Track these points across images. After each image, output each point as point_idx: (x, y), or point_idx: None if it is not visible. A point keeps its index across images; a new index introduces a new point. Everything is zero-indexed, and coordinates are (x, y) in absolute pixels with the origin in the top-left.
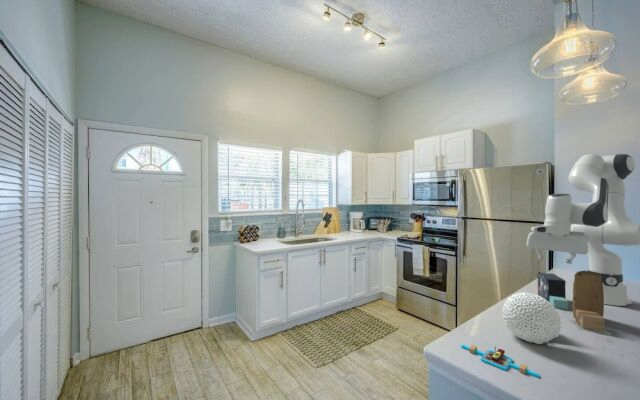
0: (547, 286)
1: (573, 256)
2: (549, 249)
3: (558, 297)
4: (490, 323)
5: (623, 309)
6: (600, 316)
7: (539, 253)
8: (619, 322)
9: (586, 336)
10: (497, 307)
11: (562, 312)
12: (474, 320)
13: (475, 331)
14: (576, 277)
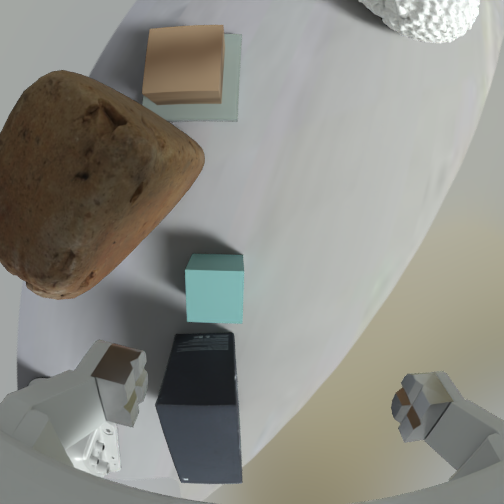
0: (236, 383)
1: (35, 397)
2: (440, 493)
3: (209, 315)
4: (467, 53)
5: (33, 355)
6: (153, 43)
7: (478, 415)
8: None
9: (231, 20)
10: (439, 198)
11: (214, 244)
12: (493, 69)
13: (484, 13)
14: (150, 131)
